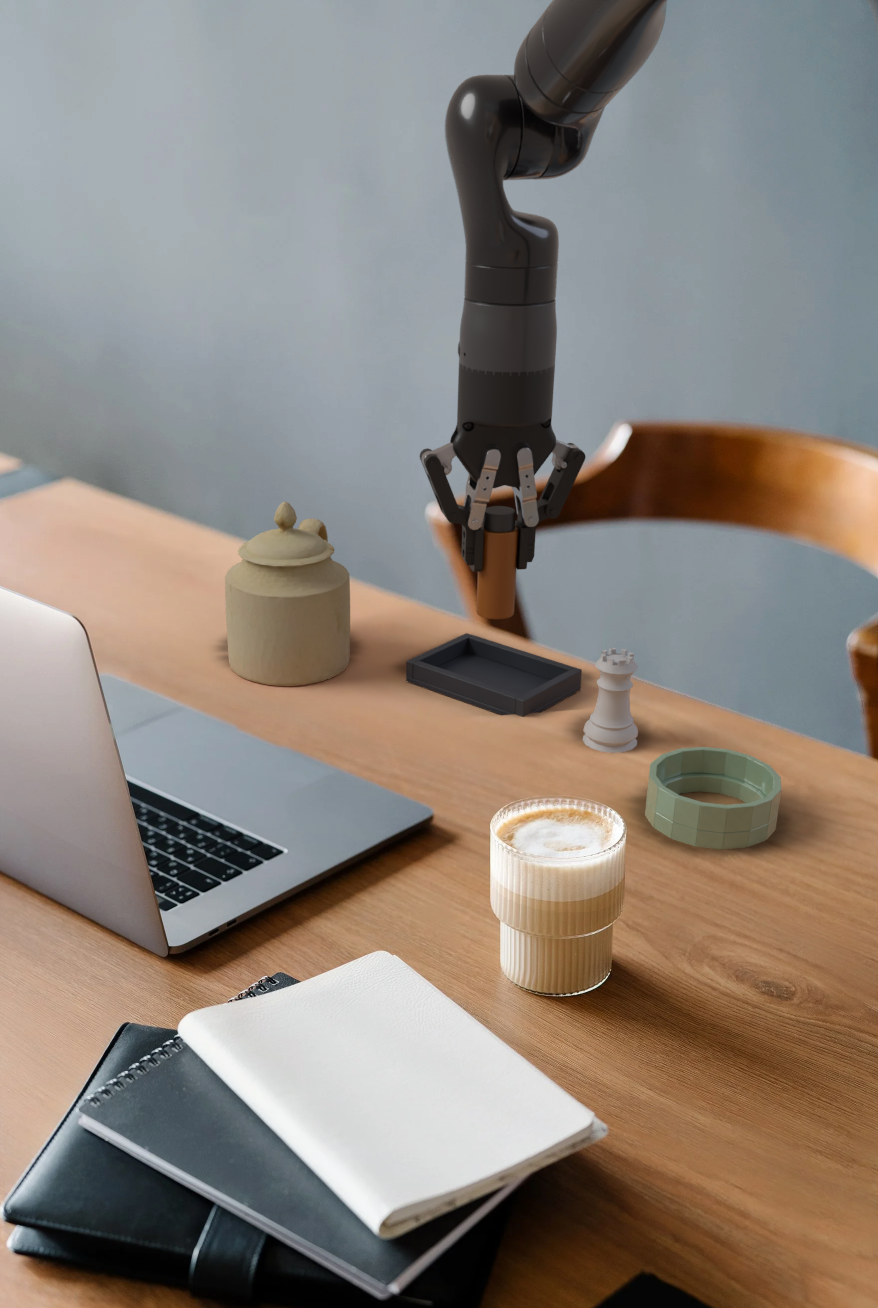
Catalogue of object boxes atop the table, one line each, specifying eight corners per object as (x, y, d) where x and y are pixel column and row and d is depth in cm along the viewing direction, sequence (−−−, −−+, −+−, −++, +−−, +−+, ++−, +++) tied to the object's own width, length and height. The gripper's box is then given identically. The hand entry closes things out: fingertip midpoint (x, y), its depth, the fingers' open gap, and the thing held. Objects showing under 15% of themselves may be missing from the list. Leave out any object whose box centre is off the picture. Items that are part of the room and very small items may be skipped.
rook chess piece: (569, 745, 111) (576, 653, 108) (605, 729, 114) (612, 638, 110) (613, 764, 108) (622, 670, 105) (649, 747, 111) (658, 654, 107)
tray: (580, 690, 121) (582, 669, 120) (522, 722, 115) (523, 701, 114) (465, 652, 128) (466, 632, 127) (405, 681, 122) (406, 660, 121)
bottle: (508, 605, 120) (513, 503, 116) (518, 618, 117) (523, 515, 113) (472, 607, 120) (476, 505, 116) (481, 620, 117) (485, 517, 113)
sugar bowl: (215, 629, 133) (207, 475, 126) (328, 620, 135) (326, 468, 129) (237, 692, 120) (230, 524, 113) (362, 681, 122) (362, 515, 116)
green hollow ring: (742, 796, 104) (749, 742, 102) (794, 858, 96) (803, 801, 94) (626, 806, 103) (631, 751, 100) (670, 870, 95) (676, 812, 93)
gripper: (428, 371, 104) (424, 588, 112) (608, 365, 107) (592, 578, 114) (409, 351, 111) (406, 557, 119) (579, 346, 113) (565, 549, 121)
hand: (497, 566), depth 117 cm, fingers closed on bottle, 3 cm apart
